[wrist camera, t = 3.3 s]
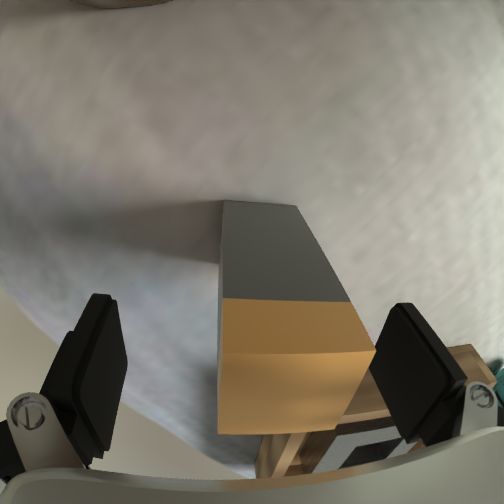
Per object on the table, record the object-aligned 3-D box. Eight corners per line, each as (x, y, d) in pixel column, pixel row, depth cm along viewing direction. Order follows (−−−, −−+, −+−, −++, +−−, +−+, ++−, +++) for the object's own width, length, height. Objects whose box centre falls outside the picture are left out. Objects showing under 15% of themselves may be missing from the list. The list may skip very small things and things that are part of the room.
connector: (223, 200, 15) (223, 352, 6) (296, 205, 16) (376, 350, 7) (219, 264, 17) (217, 434, 8) (285, 268, 17) (334, 429, 9)
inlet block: (326, 399, 22) (337, 435, 19) (426, 385, 23) (441, 414, 20) (299, 453, 27) (304, 482, 24) (384, 441, 28) (393, 466, 25)
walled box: (284, 359, 21) (297, 419, 16) (471, 344, 23) (497, 381, 18) (254, 464, 29) (258, 503, 25) (396, 445, 31) (408, 476, 27)
